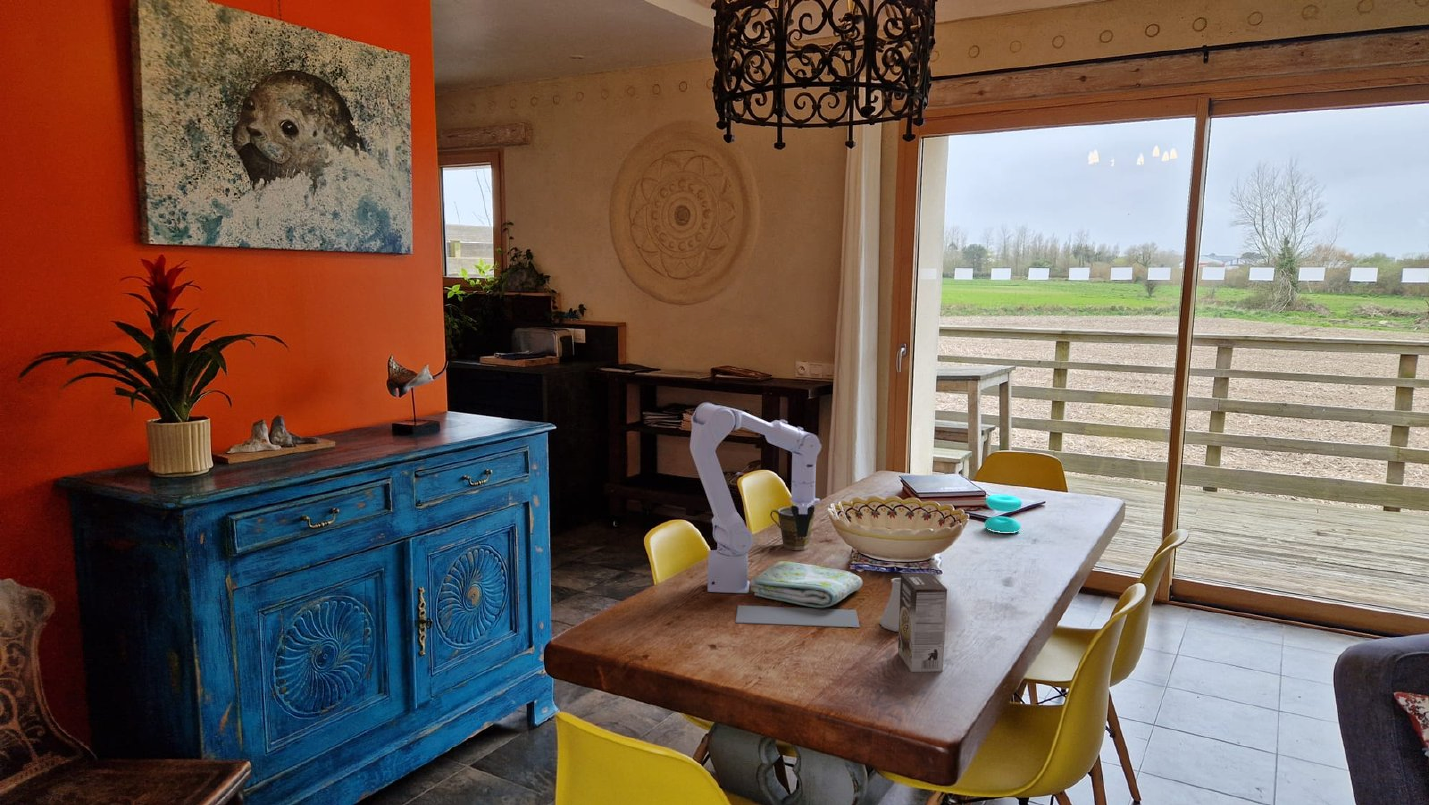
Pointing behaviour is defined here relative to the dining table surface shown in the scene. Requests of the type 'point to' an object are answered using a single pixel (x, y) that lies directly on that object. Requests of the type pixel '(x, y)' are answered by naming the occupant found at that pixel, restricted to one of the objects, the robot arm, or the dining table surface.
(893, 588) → the flask
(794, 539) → the ceramic cup
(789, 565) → the towel
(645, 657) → the dining table surface
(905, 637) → the coffee box
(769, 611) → the slate mat
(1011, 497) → the donuts
